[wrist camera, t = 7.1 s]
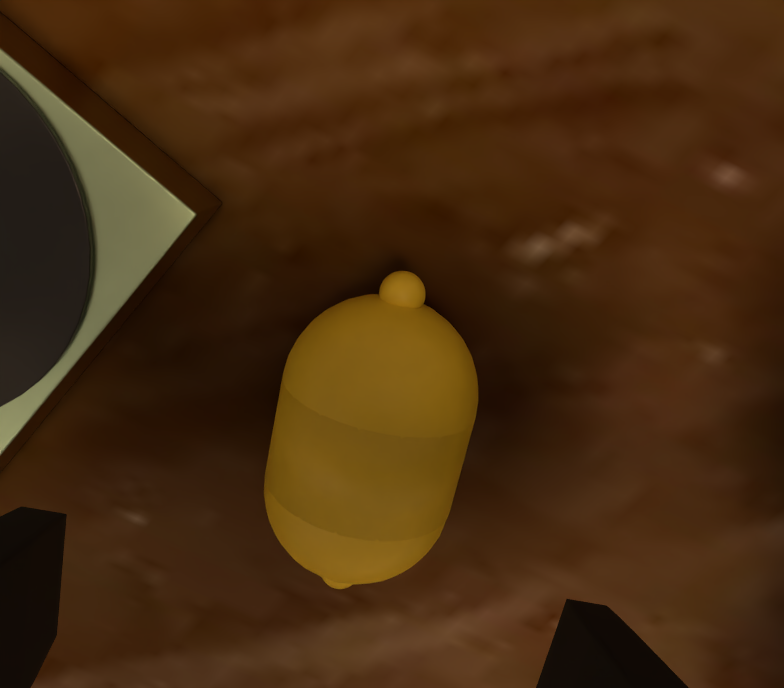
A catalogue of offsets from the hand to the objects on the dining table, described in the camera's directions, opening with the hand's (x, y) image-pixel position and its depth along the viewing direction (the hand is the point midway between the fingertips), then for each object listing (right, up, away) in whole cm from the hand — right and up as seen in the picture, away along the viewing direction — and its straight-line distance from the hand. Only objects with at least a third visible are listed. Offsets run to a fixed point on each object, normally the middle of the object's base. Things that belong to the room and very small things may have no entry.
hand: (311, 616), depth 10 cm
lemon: (+1, +2, +8) cm, 8 cm away
